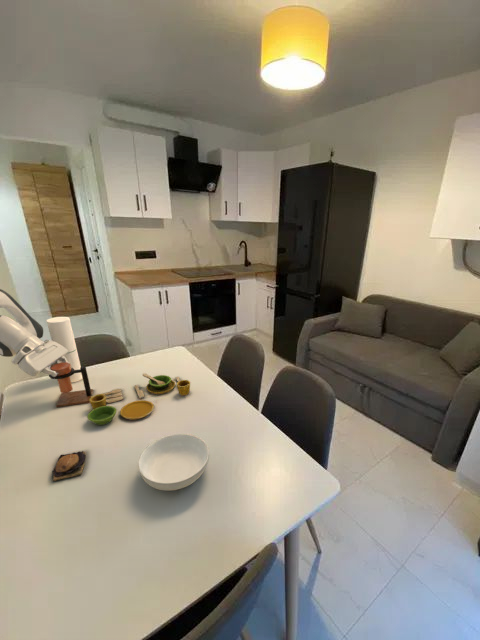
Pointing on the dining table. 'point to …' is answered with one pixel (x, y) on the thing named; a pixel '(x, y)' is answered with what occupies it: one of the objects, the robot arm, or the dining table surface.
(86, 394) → the cup holder
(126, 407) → the tableware set
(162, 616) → the dining table surface
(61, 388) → the orange wooden peg
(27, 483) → the dining table surface
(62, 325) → the container
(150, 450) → the serving bowl
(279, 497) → the dining table surface
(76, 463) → the open sandwich
